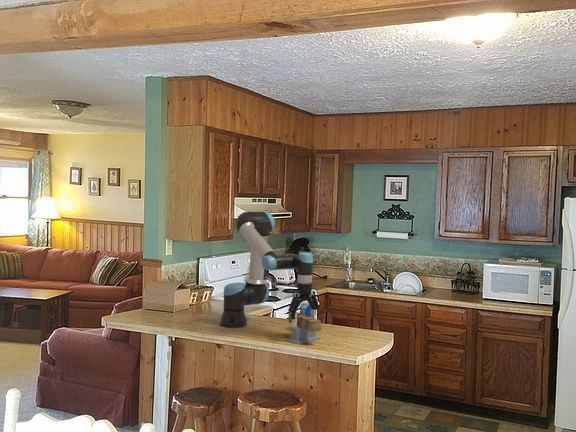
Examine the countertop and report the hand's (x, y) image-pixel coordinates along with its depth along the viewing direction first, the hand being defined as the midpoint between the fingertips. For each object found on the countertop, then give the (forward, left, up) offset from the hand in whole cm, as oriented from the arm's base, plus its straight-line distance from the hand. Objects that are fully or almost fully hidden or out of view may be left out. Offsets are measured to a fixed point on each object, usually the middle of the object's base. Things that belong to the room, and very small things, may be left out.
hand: (303, 323), depth 304 cm
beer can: (-12, +15, -9) cm, 21 cm away
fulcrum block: (0, 0, -8) cm, 8 cm away
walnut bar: (+1, 0, -1) cm, 1 cm away
